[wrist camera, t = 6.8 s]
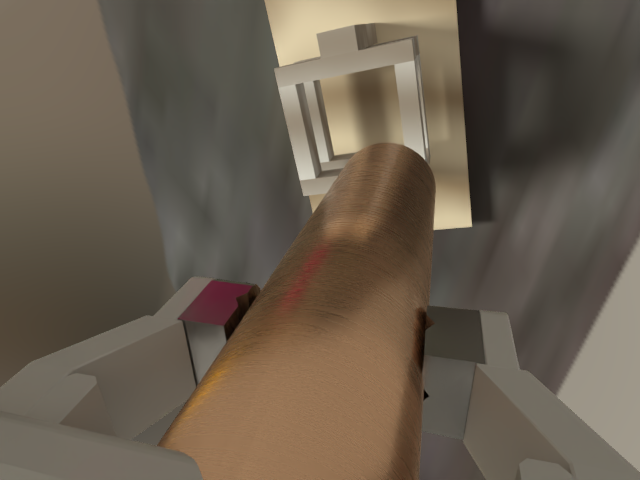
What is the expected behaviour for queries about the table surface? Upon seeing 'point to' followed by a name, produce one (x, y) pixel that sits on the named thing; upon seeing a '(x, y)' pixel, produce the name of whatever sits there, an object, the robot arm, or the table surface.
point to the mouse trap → (373, 90)
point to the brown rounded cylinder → (329, 342)
